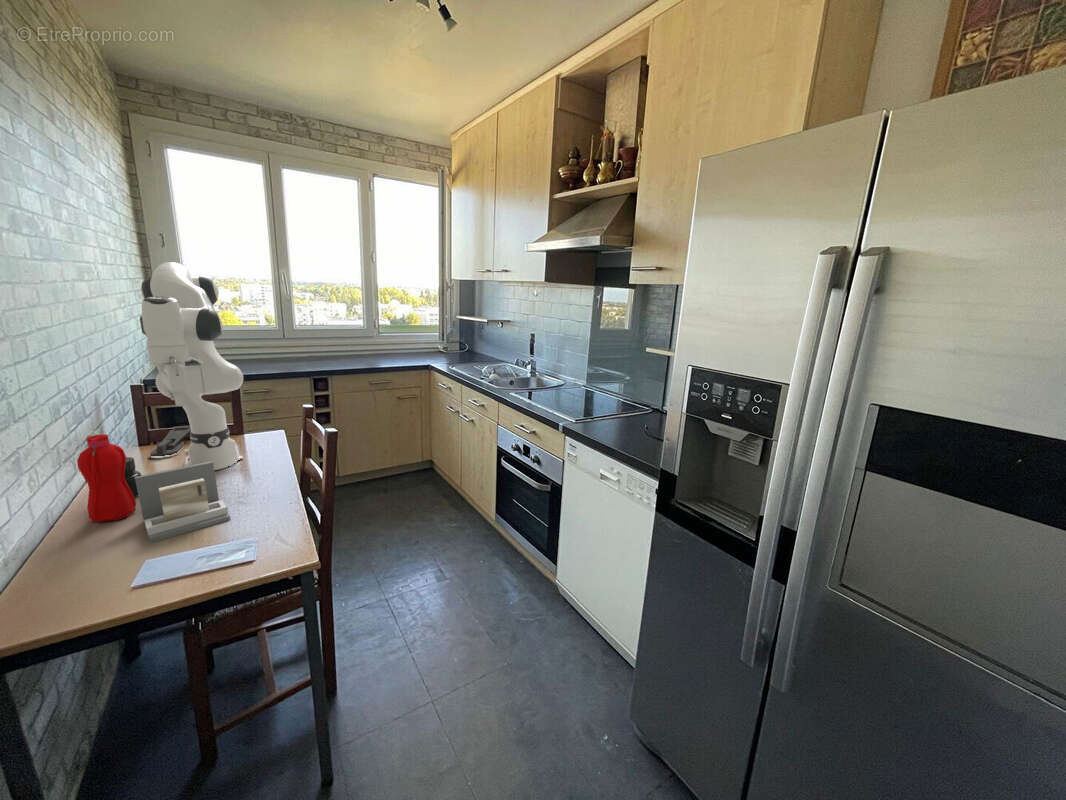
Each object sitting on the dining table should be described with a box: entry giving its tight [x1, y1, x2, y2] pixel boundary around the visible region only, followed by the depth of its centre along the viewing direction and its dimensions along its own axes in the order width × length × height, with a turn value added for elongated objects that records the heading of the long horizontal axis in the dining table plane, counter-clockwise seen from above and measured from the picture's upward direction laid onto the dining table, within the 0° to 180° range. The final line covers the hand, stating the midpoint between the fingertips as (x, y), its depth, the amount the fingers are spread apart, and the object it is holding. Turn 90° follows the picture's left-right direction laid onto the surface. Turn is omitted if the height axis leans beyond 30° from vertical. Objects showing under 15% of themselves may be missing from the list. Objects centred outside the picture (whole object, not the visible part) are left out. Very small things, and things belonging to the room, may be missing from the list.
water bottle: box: [76, 433, 137, 523], centre depth 125 cm, size 9×11×25 cm
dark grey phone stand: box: [149, 425, 191, 457], centre depth 183 cm, size 9×7×25 cm
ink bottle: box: [125, 456, 142, 498], centre depth 140 cm, size 10×9×12 cm
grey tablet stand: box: [135, 461, 231, 544], centre depth 125 cm, size 16×18×14 cm
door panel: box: [159, 478, 209, 522], centre depth 123 cm, size 3×10×11 cm, turn 136°
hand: (177, 402), depth 126 cm, fingers open, 8 cm apart
